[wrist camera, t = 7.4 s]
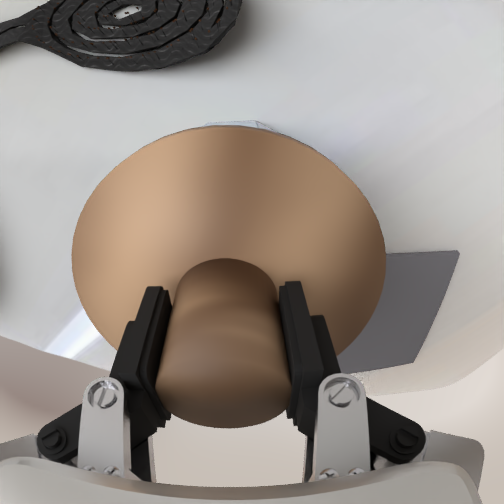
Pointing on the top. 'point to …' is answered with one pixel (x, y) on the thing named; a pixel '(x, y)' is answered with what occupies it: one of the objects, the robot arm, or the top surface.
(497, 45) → the top surface
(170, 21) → the hairbrush
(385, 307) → the mat
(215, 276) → the lid
